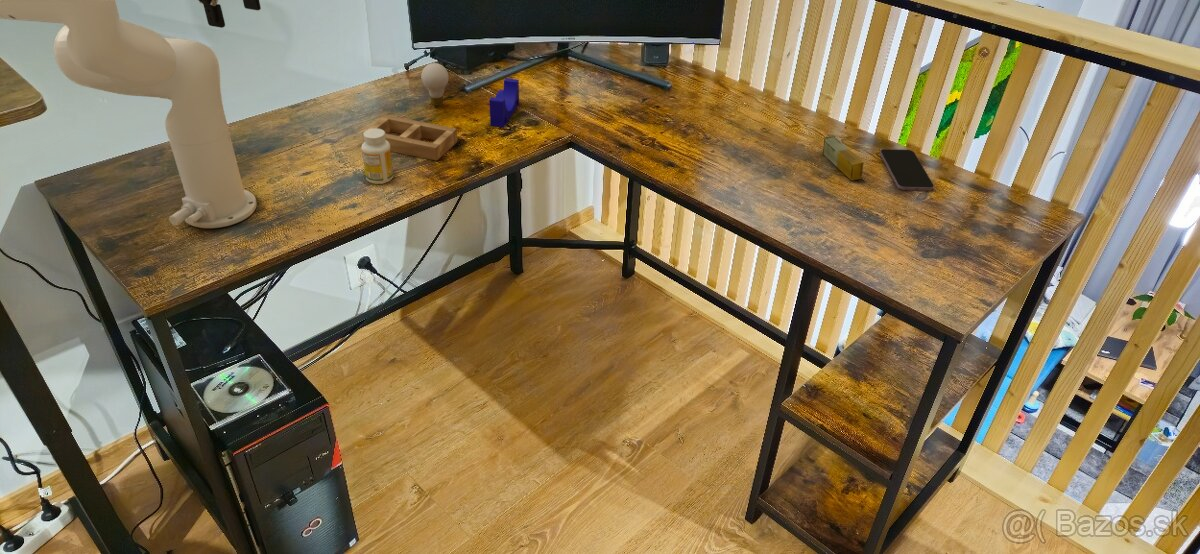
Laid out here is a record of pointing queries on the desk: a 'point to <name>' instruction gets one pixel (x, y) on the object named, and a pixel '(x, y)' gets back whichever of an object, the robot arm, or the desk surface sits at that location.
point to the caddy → (417, 137)
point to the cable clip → (504, 103)
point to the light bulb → (435, 82)
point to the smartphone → (906, 170)
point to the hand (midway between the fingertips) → (235, 17)
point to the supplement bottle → (377, 157)
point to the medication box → (843, 158)
